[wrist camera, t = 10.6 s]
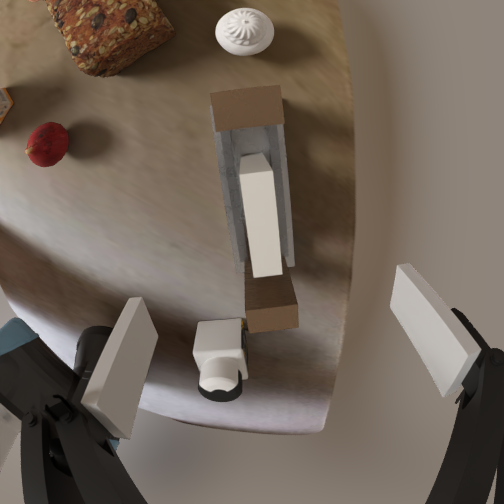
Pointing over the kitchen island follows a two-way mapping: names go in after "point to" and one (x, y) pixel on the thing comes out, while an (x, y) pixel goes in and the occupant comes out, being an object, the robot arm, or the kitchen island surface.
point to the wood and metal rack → (228, 155)
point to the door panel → (260, 214)
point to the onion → (47, 144)
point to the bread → (109, 32)
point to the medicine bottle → (221, 358)
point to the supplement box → (4, 103)
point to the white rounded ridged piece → (244, 31)
